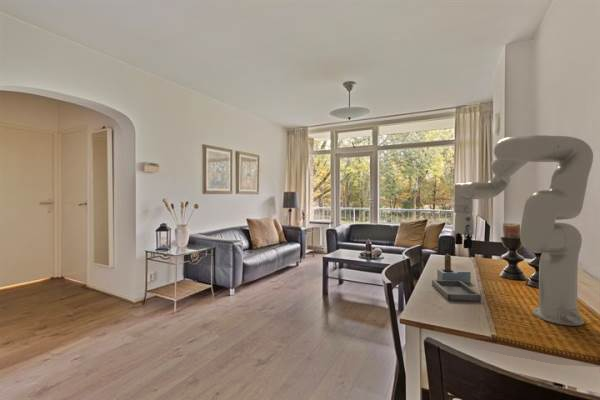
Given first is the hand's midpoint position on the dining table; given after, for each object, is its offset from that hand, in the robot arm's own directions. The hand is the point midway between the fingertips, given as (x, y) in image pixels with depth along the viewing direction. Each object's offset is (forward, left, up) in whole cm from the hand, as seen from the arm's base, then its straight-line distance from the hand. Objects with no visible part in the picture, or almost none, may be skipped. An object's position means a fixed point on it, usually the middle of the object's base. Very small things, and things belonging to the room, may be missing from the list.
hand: (463, 246), depth 136 cm
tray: (-16, +10, -17) cm, 25 cm away
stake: (0, +7, -17) cm, 18 cm away
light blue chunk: (0, +4, -17) cm, 17 cm away
